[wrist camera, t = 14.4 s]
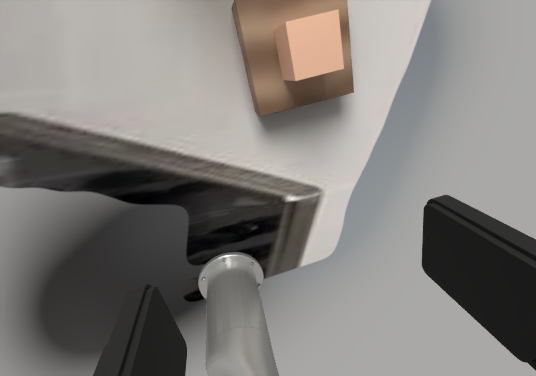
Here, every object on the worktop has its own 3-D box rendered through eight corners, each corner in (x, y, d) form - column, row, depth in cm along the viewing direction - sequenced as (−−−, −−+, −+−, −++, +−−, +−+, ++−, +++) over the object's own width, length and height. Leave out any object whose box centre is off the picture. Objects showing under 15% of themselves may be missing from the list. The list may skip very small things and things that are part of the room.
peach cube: (324, 69, 37) (344, 68, 32) (282, 80, 37) (295, 81, 31) (318, 19, 35) (338, 9, 29) (273, 30, 34) (285, 21, 29)
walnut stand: (339, 90, 44) (353, 92, 39) (255, 111, 42) (260, 116, 38) (329, -14, 38) (345, -25, 33) (231, 7, 37) (234, -2, 32)
